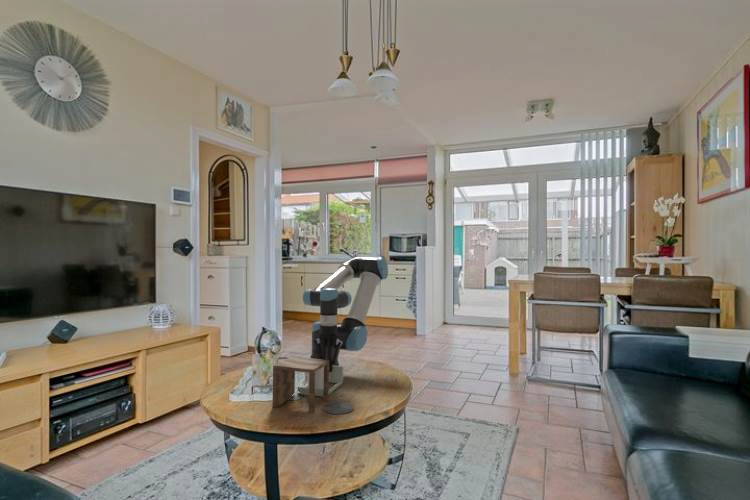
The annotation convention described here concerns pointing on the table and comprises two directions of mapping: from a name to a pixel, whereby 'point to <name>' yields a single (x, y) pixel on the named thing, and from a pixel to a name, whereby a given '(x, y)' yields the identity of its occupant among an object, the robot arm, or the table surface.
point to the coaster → (338, 407)
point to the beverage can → (318, 378)
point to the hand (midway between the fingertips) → (327, 379)
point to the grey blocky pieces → (334, 377)
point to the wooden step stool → (286, 379)
